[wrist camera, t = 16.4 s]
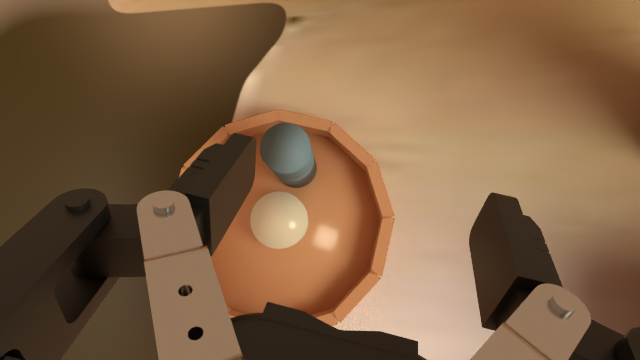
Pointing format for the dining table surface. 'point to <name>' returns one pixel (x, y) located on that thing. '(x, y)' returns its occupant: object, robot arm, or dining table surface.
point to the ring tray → (305, 227)
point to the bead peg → (289, 154)
